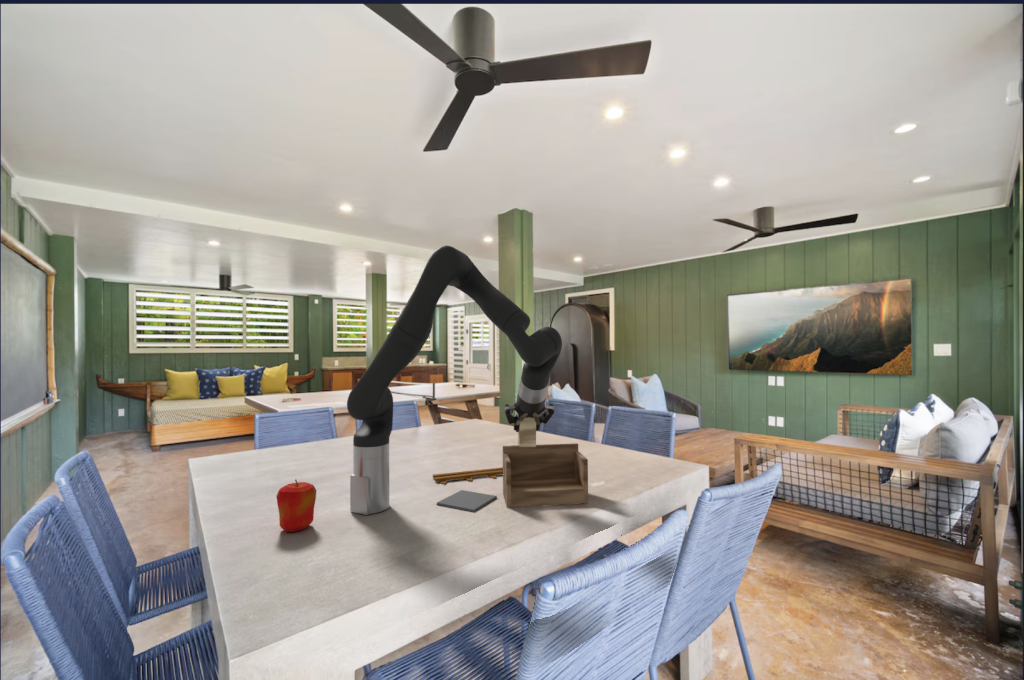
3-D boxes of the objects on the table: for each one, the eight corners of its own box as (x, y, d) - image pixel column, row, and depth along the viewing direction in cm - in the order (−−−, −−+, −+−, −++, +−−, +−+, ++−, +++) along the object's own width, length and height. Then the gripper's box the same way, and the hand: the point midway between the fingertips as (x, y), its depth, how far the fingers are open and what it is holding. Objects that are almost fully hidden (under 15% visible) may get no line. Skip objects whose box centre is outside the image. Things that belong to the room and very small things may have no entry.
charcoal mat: (473, 512, 115) (473, 509, 115) (436, 504, 120) (436, 502, 120) (496, 498, 125) (496, 495, 125) (461, 492, 131) (461, 490, 131)
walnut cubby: (588, 503, 120) (587, 452, 120) (506, 507, 118) (506, 454, 118) (577, 490, 131) (577, 443, 132) (502, 493, 129) (502, 445, 129)
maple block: (535, 446, 122) (536, 410, 122) (519, 447, 121) (520, 410, 122) (533, 443, 126) (533, 408, 127) (517, 443, 126) (518, 408, 126)
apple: (290, 539, 99) (290, 486, 99) (268, 531, 103) (268, 481, 103) (323, 525, 106) (323, 476, 107) (301, 519, 110) (301, 472, 111)
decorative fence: (431, 478, 147) (436, 487, 138) (431, 472, 147) (436, 480, 138) (502, 470, 156) (512, 478, 146) (502, 465, 156) (512, 472, 146)
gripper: (557, 380, 118) (548, 418, 129) (504, 380, 116) (500, 418, 128) (561, 402, 112) (552, 440, 124) (506, 403, 111) (501, 441, 122)
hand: (525, 429), depth 126 cm, fingers closed on maple block, 4 cm apart
